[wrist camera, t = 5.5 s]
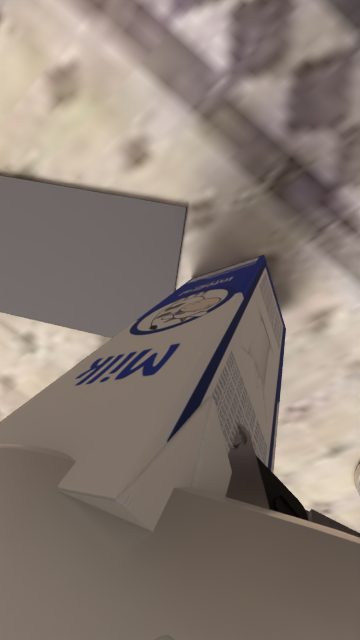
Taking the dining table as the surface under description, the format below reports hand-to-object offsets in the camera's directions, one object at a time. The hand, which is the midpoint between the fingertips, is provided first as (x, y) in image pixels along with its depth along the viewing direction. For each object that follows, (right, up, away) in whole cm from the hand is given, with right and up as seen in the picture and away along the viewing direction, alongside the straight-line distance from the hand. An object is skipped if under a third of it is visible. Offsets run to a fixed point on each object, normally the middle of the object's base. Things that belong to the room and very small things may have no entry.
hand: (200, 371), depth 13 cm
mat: (-12, +8, +13) cm, 19 cm away
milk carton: (+4, +4, +10) cm, 12 cm away
